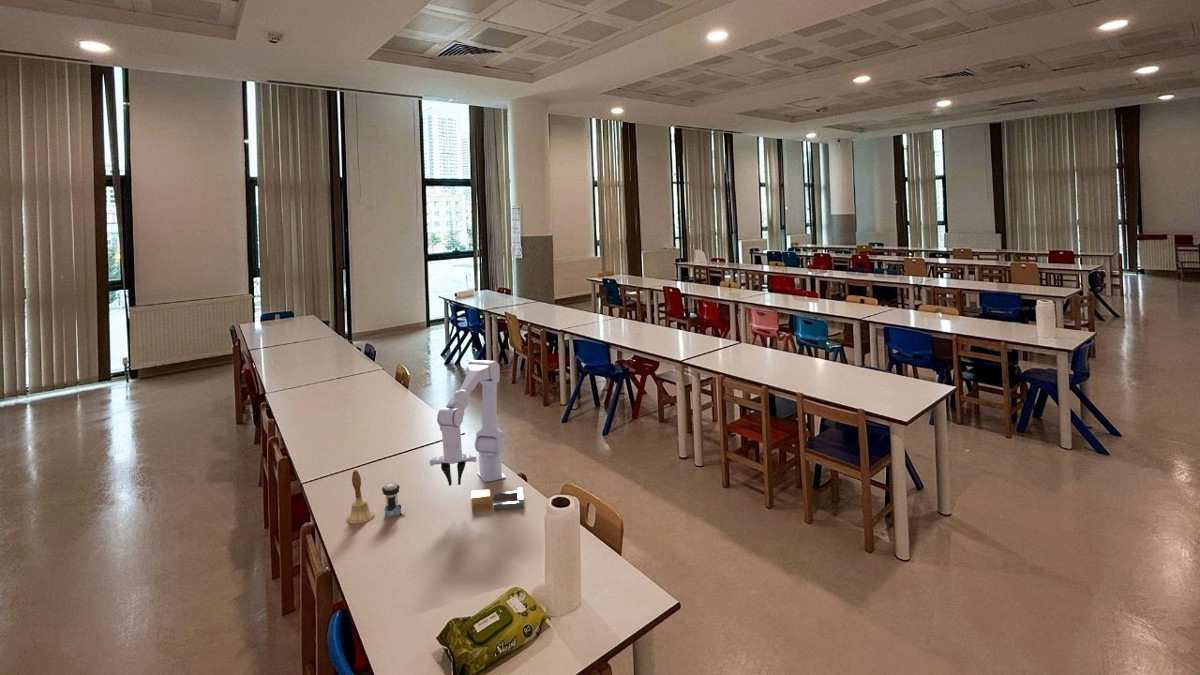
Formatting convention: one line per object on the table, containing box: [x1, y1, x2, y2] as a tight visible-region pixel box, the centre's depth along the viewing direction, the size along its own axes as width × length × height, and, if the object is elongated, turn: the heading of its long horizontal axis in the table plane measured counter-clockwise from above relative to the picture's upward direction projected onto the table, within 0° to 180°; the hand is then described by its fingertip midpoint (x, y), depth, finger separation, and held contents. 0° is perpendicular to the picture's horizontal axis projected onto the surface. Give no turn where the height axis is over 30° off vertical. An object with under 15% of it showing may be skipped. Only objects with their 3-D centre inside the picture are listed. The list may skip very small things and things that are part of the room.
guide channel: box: [493, 487, 524, 511], centre depth 199 cm, size 10×9×3 cm
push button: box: [381, 482, 406, 517], centre depth 193 cm, size 7×5×10 cm
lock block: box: [470, 488, 492, 511], centre depth 198 cm, size 6×5×4 cm
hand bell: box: [346, 469, 375, 525], centre depth 190 cm, size 8×8×16 cm
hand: (454, 483), depth 195 cm, fingers open, 2 cm apart
